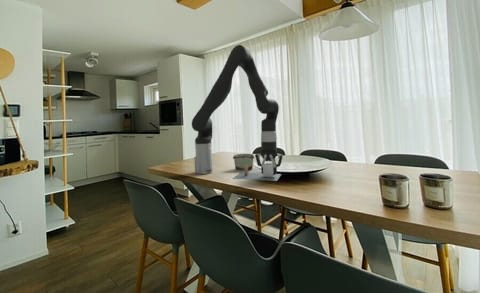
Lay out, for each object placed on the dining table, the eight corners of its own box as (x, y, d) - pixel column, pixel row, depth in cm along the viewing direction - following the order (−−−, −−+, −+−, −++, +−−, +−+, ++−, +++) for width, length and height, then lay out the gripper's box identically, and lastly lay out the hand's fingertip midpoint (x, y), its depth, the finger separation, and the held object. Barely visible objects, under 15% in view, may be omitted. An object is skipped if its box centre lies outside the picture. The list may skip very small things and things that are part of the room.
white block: (263, 176, 116) (262, 164, 116) (265, 174, 121) (265, 163, 120) (273, 177, 115) (273, 165, 114) (274, 175, 119) (274, 163, 119)
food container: (255, 170, 142) (254, 153, 141) (254, 172, 136) (254, 155, 135) (234, 170, 143) (234, 153, 142) (233, 172, 137) (232, 155, 136)
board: (232, 181, 117) (232, 168, 116) (240, 175, 130) (240, 163, 129) (277, 183, 110) (277, 170, 109) (281, 176, 123) (281, 164, 122)
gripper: (252, 141, 115) (253, 175, 116) (282, 141, 110) (282, 177, 112) (256, 139, 122) (256, 172, 124) (284, 139, 117) (284, 173, 119)
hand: (269, 174), depth 118 cm, fingers closed on white block, 4 cm apart
